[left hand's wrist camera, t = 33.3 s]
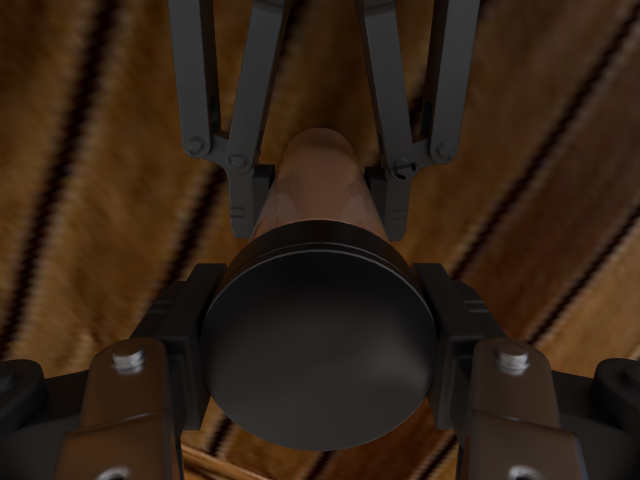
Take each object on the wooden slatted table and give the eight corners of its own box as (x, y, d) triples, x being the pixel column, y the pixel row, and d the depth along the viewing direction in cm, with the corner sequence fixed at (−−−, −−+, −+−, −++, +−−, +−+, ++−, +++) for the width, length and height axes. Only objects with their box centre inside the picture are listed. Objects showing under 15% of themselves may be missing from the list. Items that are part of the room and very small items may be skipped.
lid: (377, 415, 12) (387, 472, 10) (197, 368, 11) (175, 421, 10) (454, 254, 10) (481, 292, 8) (245, 190, 10) (230, 216, 8)
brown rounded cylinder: (308, 212, 28) (292, 439, 11) (268, 153, 27) (178, 308, 10) (369, 175, 27) (452, 359, 10) (330, 112, 26) (352, 202, 9)
